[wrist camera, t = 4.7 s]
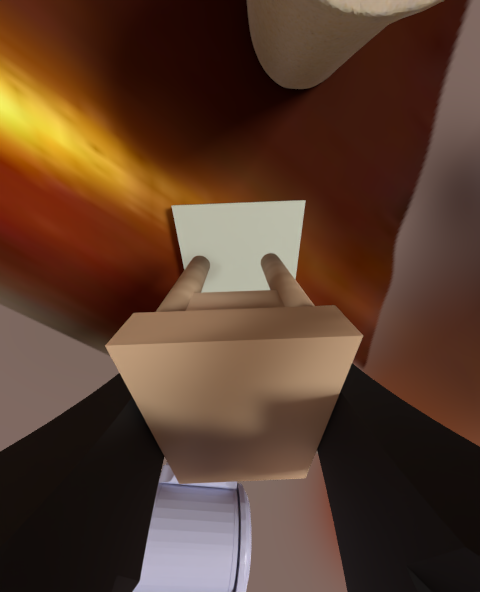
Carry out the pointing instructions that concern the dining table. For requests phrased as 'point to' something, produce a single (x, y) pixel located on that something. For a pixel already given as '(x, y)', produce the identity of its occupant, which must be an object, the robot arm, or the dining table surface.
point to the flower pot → (318, 34)
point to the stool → (236, 375)
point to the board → (239, 240)
